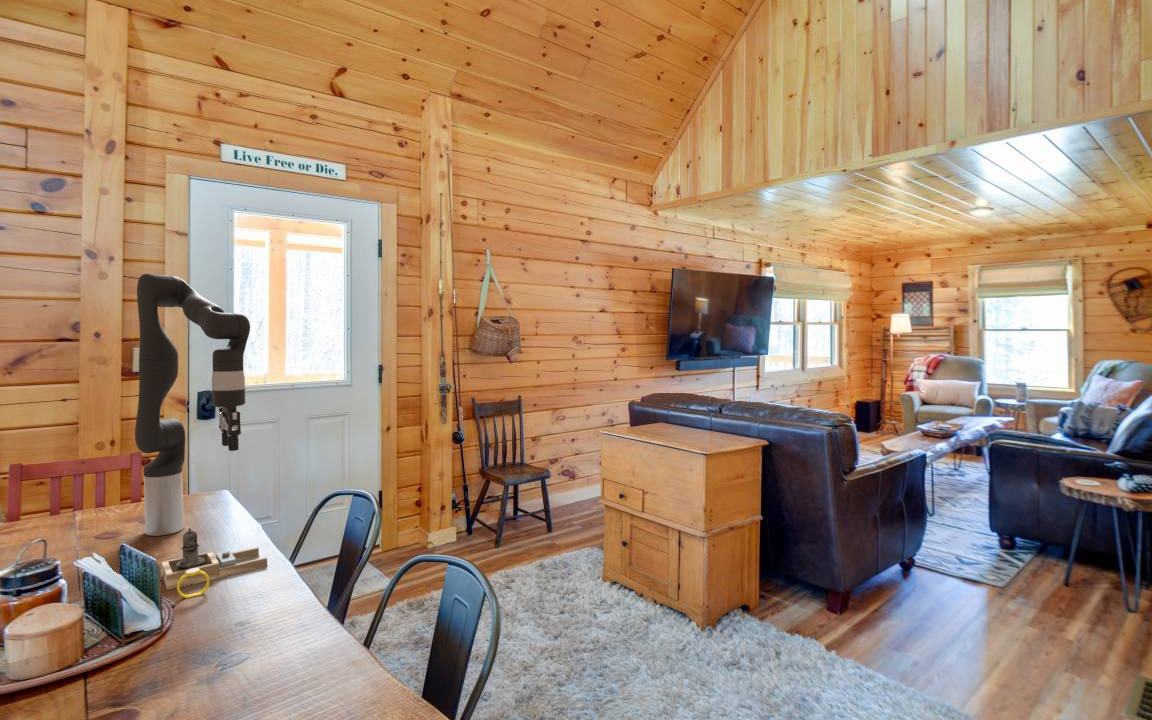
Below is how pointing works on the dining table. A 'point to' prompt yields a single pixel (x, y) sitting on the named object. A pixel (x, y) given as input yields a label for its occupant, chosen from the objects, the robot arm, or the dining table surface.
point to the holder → (210, 568)
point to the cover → (226, 559)
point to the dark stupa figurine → (190, 552)
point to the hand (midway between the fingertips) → (230, 448)
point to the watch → (191, 573)
